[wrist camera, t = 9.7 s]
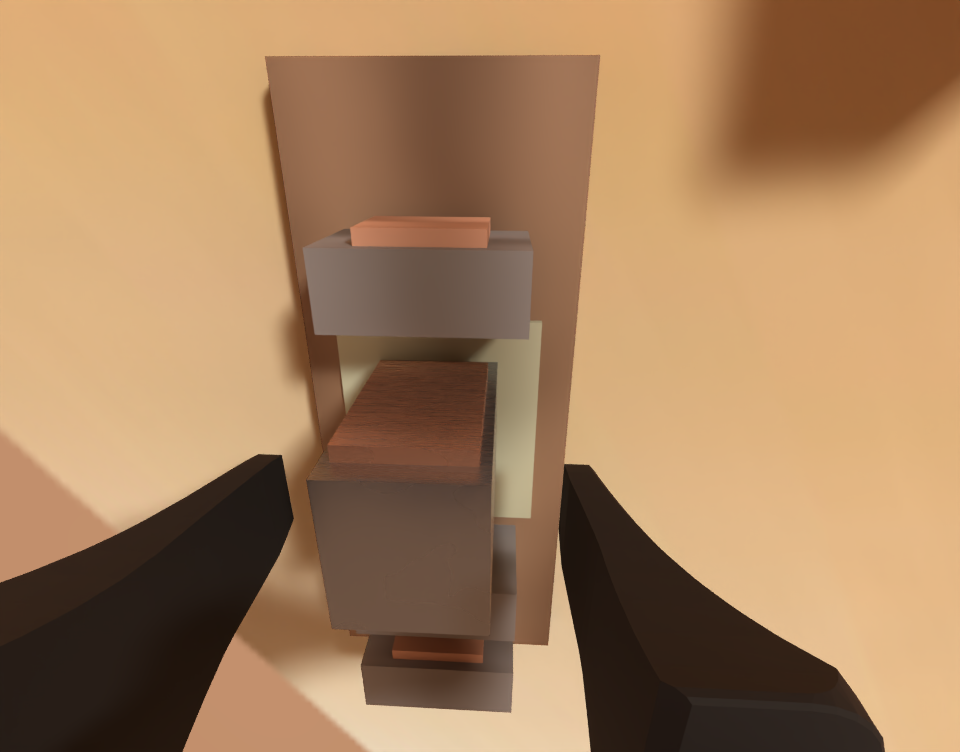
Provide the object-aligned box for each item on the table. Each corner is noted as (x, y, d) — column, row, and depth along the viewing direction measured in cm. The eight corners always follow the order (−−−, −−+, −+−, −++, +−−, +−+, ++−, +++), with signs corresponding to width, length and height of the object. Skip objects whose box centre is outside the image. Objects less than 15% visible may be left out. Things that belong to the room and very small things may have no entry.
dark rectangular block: (390, 471, 16) (331, 628, 11) (379, 347, 15) (303, 462, 9) (495, 474, 16) (489, 636, 11) (497, 349, 14) (492, 468, 9)
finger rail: (357, 614, 21) (325, 711, 17) (282, 63, 13) (193, 27, 9) (546, 623, 21) (554, 724, 17) (593, 62, 12) (628, 24, 9)
